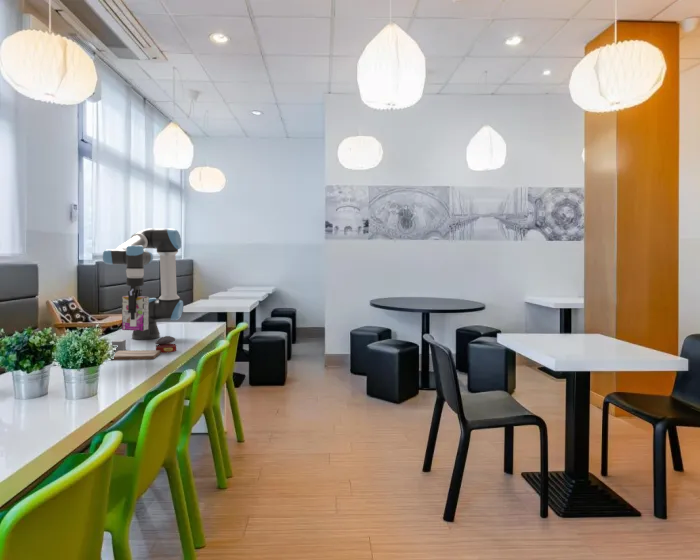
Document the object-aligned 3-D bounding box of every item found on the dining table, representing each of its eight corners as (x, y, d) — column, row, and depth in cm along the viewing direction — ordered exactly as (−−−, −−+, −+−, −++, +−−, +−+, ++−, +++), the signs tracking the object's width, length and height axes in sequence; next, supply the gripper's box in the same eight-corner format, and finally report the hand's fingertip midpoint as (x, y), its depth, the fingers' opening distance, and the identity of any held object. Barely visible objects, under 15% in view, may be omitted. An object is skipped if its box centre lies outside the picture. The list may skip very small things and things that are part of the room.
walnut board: (119, 353, 234) (119, 350, 234) (160, 353, 237) (160, 350, 237) (108, 359, 221) (108, 356, 220) (153, 359, 223) (153, 356, 223)
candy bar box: (121, 330, 226) (121, 296, 225) (127, 328, 231) (127, 295, 230) (143, 331, 225) (143, 296, 224) (149, 329, 230) (149, 296, 229)
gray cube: (115, 349, 245) (115, 339, 245) (125, 349, 246) (125, 339, 245) (112, 351, 240) (111, 341, 240) (122, 351, 241) (122, 341, 240)
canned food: (157, 361, 239) (147, 344, 238) (165, 355, 249) (155, 338, 248) (176, 352, 238) (166, 334, 237) (183, 346, 248) (174, 329, 247)
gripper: (133, 276, 236) (133, 322, 237) (120, 278, 217) (120, 328, 218) (148, 276, 237) (149, 322, 238) (137, 278, 218) (137, 328, 219)
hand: (135, 325), depth 228 cm, fingers closed on candy bar box, 6 cm apart
